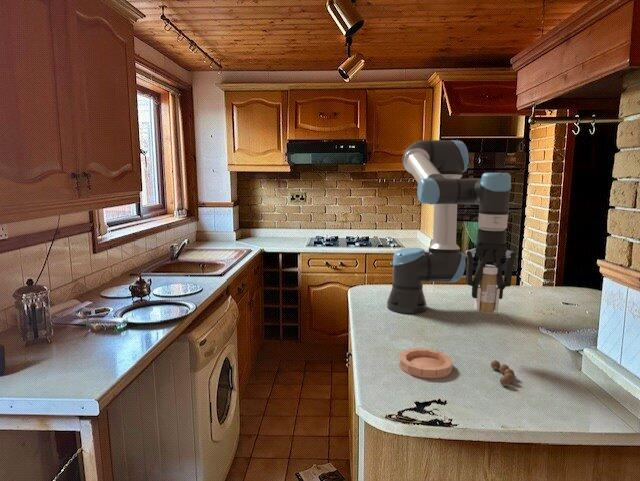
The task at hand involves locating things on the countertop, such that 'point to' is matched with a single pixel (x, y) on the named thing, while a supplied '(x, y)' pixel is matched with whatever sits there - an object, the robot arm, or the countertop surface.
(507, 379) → the bead string
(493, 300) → the sprinkles bottle
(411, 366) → the saucer
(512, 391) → the countertop surface
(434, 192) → the robot arm
